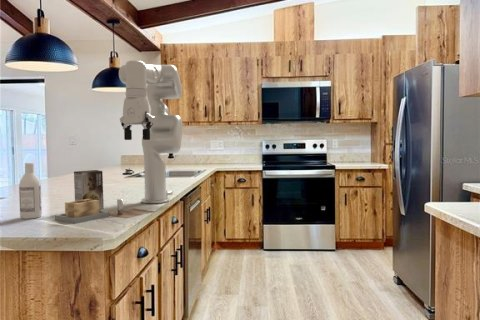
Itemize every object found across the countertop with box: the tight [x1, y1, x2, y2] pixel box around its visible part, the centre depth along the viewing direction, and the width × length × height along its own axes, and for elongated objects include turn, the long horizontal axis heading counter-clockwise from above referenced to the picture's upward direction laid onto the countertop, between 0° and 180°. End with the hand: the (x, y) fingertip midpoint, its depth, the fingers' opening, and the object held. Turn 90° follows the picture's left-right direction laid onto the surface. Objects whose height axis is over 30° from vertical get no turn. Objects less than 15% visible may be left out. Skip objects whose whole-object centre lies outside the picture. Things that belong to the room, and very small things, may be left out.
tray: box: [54, 210, 110, 224], centre depth 136 cm, size 14×12×2 cm
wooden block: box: [64, 199, 100, 218], centre depth 136 cm, size 9×6×6 cm
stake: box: [116, 198, 124, 215], centre depth 142 cm, size 2×2×6 cm
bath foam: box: [18, 162, 42, 220], centre depth 140 cm, size 7×7×20 cm
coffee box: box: [73, 169, 105, 211], centre depth 152 cm, size 9×6×16 cm
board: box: [109, 208, 157, 219], centre depth 145 cm, size 15×12×1 cm
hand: (137, 139), depth 145 cm, fingers open, 9 cm apart
